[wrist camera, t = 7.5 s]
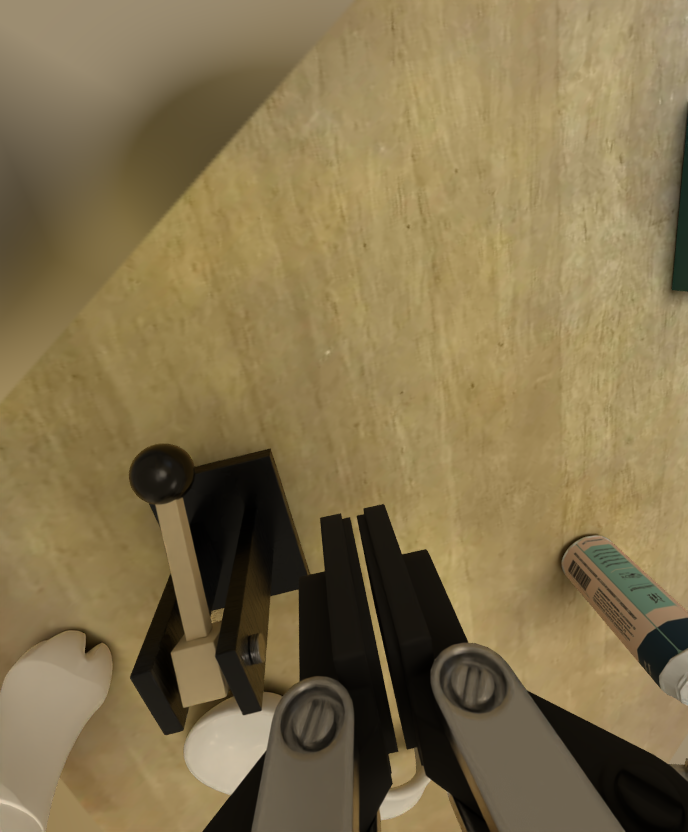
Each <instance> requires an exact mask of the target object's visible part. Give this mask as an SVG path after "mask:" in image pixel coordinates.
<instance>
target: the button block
mask: <svg viewBox="0 0 688 832" xmlns="http://www.w3.org/2000/svg"><path fill="white" fill-rule="evenodd" d="M672 290H676V291H686V292H688V118H687V129H686V140H685V151H684V162H683V173H682V185H681V196H680V207H679V218H678V229H677V240H676V251H675V262H674V273H673V285H672Z"/></svg>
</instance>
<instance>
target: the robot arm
mask: <svg viewBox="0 0 688 832" xmlns="http://www.w3.org/2000/svg"><path fill="white" fill-rule="evenodd" d="M357 520H358V525H359V530H360V535H361V540H362V545H363V550H364V555H365V560H366V565H367V570H368V575H369V580H370V585H371V590H372V595H373V600H374V605H375V609H376V614H377V618H378V623H379V627H380V632H381V636H382V641H383V645H384V650H385V654H386V659H387V663H388V668H389V672H390V676H391V681H392V685H393V690H394V694H395V699H396V703H397V708H398V712H399V717H400V721H401V726H402V730H403V735H404V739H405V744H406V748H407V749H411V748H416V747H417V750H418V754H419V758H420V762H421V766H424V770H425V775H426V776H427V777H428V778H430V779H431V780H432V781H434V782H435V783H436V784H438V785H439V786H440V787H442V788H443V789H444V790H446V791H447V794H448V797H449V801H450V803H451V806H452V808H453V810H454V813H455V815H456V818H457V820H458V823H459V825H460V827H461V830H462V832H688V759H687V758H686V761H685V765H677V764H667V763H666V762H664V761H662V760H661V759H659V758H658V757H656V756H655V755H653V754H651V753H649V752H647V751H645V750H643V749H641V748H639V747H637V746H635V745H633V744H631V743H629V742H627V741H625V740H623V739H621V738H619V737H618V736H616V735H614V734H612V733H610V732H608V731H606V730H604V729H602V728H600V727H598V726H596V725H594V724H592V723H590V722H588V721H586V720H584V719H582V718H580V717H578V716H576V715H574V714H572V713H570V712H568V711H566V710H564V709H562V708H560V707H558V706H557V705H555V704H553V703H551V702H549V701H547V700H545V699H543V698H541V697H539V696H537V695H535V694H533V693H531V692H529V691H527V690H526V689H525V687H524V686H523V685H522V683H521V682H520V680H519V679H518V677H517V676H516V675H515V673H514V672H513V670H512V669H511V667H510V666H509V665H508V664H507V662H506V661H505V660H504V659H503V658H502V657H501V656H500V655H499V654H497V653H496V652H494V651H493V650H491V649H490V648H488V647H485V646H482V645H479V644H476V643H468V641H467V638H466V636H465V634H464V632H463V629H462V627H461V625H460V623H459V620H458V618H457V616H456V614H455V611H454V609H453V607H452V604H451V602H450V600H449V598H448V595H447V593H446V591H445V589H444V586H443V584H442V582H441V580H440V577H439V575H438V573H437V571H436V568H435V566H434V564H433V562H432V559H431V557H430V555H429V553H428V551H427V550H426V549H425V550H420V551H416V552H411V553H407V554H402V553H401V550H400V548H399V545H398V542H397V539H396V536H395V533H394V531H393V528H392V525H391V522H390V519H389V516H388V514H387V511H386V508H385V505H384V504H382V505H377V506H373V507H368V508H364V514H363V515H358V516H357ZM320 523H321V533H322V544H323V555H324V566H325V572H320V573H316V574H311V575H307V576H302V577H300V578H299V663H300V682H299V683H297V684H295V685H293V686H292V687H291V688H290V689H289V690H288V691H287V692H286V693H285V694H284V695H283V697H282V698H281V700H280V701H279V703H278V705H277V706H276V709H275V712H274V715H273V718H272V723H271V728H270V734H269V739H268V744H267V750H266V751H265V752H264V754H263V755H262V756H261V757H260V759H259V760H258V761H257V763H256V764H255V765H254V766H253V768H252V769H251V770H250V772H249V773H248V774H247V775H246V777H245V778H244V779H243V780H242V782H241V783H240V784H239V786H238V787H237V788H236V789H235V791H234V792H233V793H232V795H231V796H230V797H229V798H228V800H227V801H226V802H225V803H224V805H223V806H222V807H221V809H220V810H219V811H218V812H217V814H216V815H215V816H214V817H213V819H212V820H211V821H210V823H209V824H208V825H207V826H206V828H205V829H204V830H203V832H381V815H380V809H379V808H380V806H381V804H382V802H383V801H384V799H385V797H386V795H387V793H388V791H389V789H390V787H391V786H392V784H393V783H392V778H391V773H392V772H391V766H390V761H389V755H388V754H390V753H394V752H398V747H397V742H396V737H395V733H394V728H393V723H392V718H391V713H390V708H389V703H388V699H387V694H386V689H385V684H384V679H383V674H382V669H381V665H380V660H379V655H378V650H377V645H376V640H375V635H374V631H373V626H372V621H371V616H370V611H369V606H368V601H367V597H366V592H365V587H364V582H363V577H362V573H361V568H360V563H359V558H358V553H357V548H356V544H355V539H354V534H353V529H352V524H351V520H350V517H349V518H344V519H342V516H341V513H340V514H335V515H331V516H326V517H322V518H320Z"/></svg>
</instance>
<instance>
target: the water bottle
mask: <svg viewBox="0 0 688 832" xmlns="http://www.w3.org/2000/svg"><path fill="white" fill-rule="evenodd" d="M85 645H86V635H85V633H82V632H80V631H74V630H70V631H64V632H62V633H60V634H57V635H56V636H54V637H52V638H50V639H49V640H48V641H42V642H40V643H38V644H37V645H35V646H33V647H32V648H30V649H29V650H27V651H26V652H25V653H24V654H23V655H22V656H21V657H20V658H19V659H18V660H17V662H16V663H15V664H14V665H13V667H12V668H11V669H10V671H9V672H8V673H7V675H6V677H5V679H4V682H3V685H2V689H1V692H0V832H46V829H47V822H48V818H49V813H50V809H51V804H52V799H53V796H54V793H55V789H56V786H57V783H58V780H59V777H60V774H61V772H62V769H63V767H64V764H65V762H66V759H67V757H68V755H69V753H70V751H71V749H72V747H73V745H74V743H75V741H76V739H77V737H78V735H79V734H80V732H81V731H82V729H83V727H84V726H85V724H86V723H87V721H88V720H89V719H90V718H91V716H92V715H93V714H94V713H95V712H96V711H97V710H98V709H99V707H100V706H101V705H102V704H103V702H104V700H105V698H106V696H107V693H108V690H109V686H110V682H111V677H112V667H113V665H112V656H111V652H110V650H109V648H108V646H107V645H105V644H103V643H100V644H98V645H96V646H95V647H94V648H92V649H91V650H90V651H88V652H87V653H86V654H85Z"/></svg>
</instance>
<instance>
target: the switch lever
mask: <svg viewBox="0 0 688 832" xmlns="http://www.w3.org/2000/svg"><path fill="white" fill-rule="evenodd" d="M194 479H195V466H194V463H193V460H192V459H191V457H190V456H189V454H188V453H187V452H186V451H185V450H183V449H182V448H180V447H178V446H175V445H172V444H156V445H152V446H150V447H147V448H146V449H144V450H143V451H141V452H140V453H139V454H138V455H137V456H136V457H135V459H134V460H133V462H132V464H131V467H130V470H129V482H130V485H131V488H132V490H133V491H134V493H135V494H136V495H137V496H138V497H139V498H140V499H142V500H143V501H145V502H147V503H150V504H154V505H156V510H157V514H158V519H159V523H160V527H161V532H162V536H163V541H164V545H165V549H166V554H167V558H168V562H169V567H170V571H171V576H172V580H173V584H174V589H175V593H176V598H177V602H178V606H179V611H180V615H181V620H182V624H183V628H184V633H185V634H184V635H183V637H182V638H181V639H180V641H179V642H178V643H177V645H176V646H175V648H174V649H173V650H172V652H171V656H172V661H173V665H174V670H175V674H176V678H177V683H178V687H179V692H180V696H181V701H182V705H183V708H185V707H189V706H193V705H197V704H201V703H205V702H209V701H213V700H217V699H221V698H225V697H226V696H227V694H228V691H229V689H230V687H229V685H228V683H227V681H226V679H225V677H224V675H223V673H222V671H221V669H220V666H219V664H218V662H217V660H216V658H215V653H216V648H217V643H218V638H219V633H220V628H221V623H222V621H220V622H216V623H211V619H210V614H209V610H208V606H207V601H206V597H205V593H204V588H203V584H202V580H201V575H200V571H199V567H198V562H197V558H196V553H195V549H194V545H193V540H192V536H191V532H190V527H189V523H188V519H187V514H186V510H185V506H184V501H183V497H184V496H185V495H186V494H187V493H188V492H189V490H190V489H191V487H192V485H193V483H194Z"/></svg>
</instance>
